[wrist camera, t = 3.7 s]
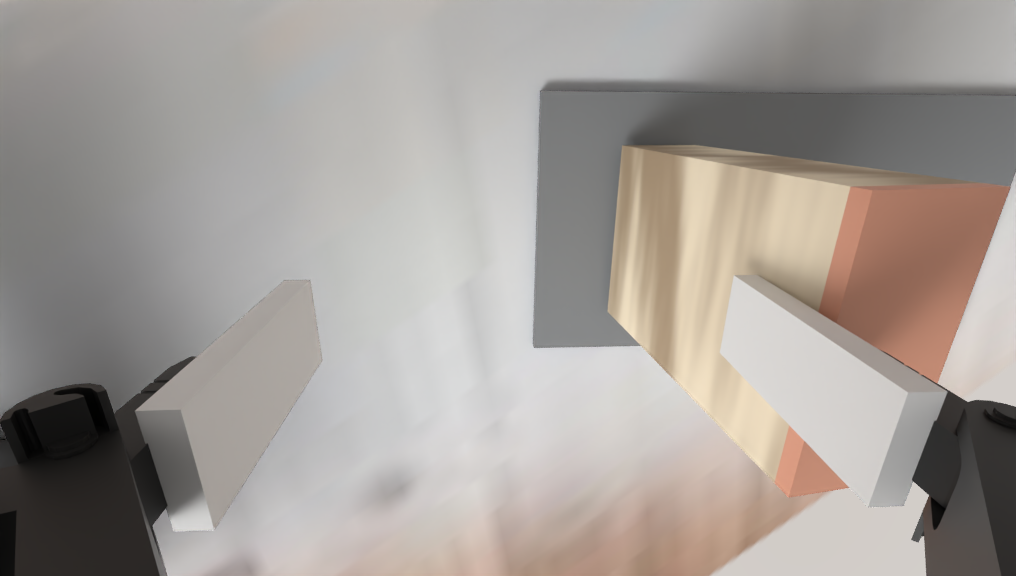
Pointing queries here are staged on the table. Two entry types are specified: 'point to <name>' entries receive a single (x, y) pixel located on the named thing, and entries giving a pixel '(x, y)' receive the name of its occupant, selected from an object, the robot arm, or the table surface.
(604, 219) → the mat
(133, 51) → the table surface
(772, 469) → the block
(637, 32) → the table surface
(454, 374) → the table surface
